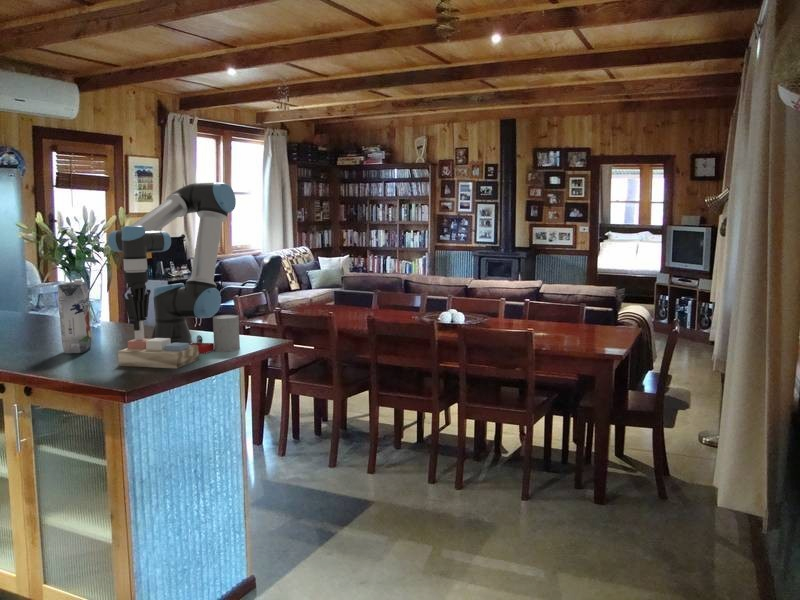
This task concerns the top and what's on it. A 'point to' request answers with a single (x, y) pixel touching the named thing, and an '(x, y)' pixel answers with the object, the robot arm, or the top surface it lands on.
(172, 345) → the blue key
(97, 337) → the top surface
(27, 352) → the top surface
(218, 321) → the grey cylinder
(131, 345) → the red key
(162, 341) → the white key
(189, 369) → the top surface
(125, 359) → the frame
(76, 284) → the juice carton
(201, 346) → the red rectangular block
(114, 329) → the top surface
